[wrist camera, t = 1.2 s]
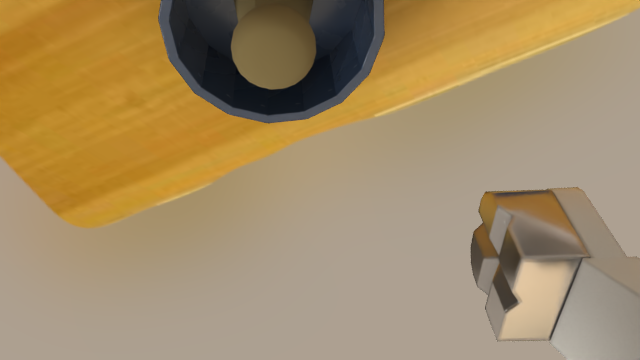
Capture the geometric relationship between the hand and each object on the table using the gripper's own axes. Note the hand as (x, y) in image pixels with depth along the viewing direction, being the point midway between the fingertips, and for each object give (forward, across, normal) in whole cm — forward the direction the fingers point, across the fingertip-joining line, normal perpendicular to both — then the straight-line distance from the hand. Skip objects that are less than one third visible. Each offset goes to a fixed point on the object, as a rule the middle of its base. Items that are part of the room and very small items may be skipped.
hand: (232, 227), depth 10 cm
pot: (+37, 0, +10) cm, 38 cm away
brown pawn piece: (+37, 0, +10) cm, 38 cm away
